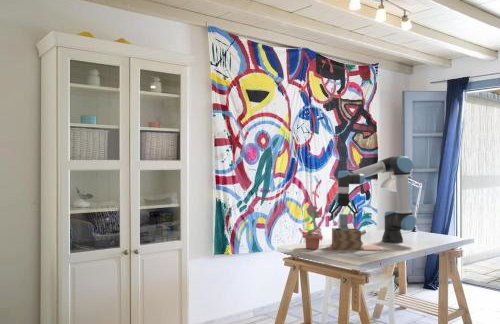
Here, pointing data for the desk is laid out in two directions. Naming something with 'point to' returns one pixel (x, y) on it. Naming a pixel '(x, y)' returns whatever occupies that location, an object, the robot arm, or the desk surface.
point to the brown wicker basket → (346, 239)
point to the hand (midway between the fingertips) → (343, 223)
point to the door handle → (362, 234)
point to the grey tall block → (343, 222)
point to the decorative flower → (312, 238)
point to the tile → (371, 248)
